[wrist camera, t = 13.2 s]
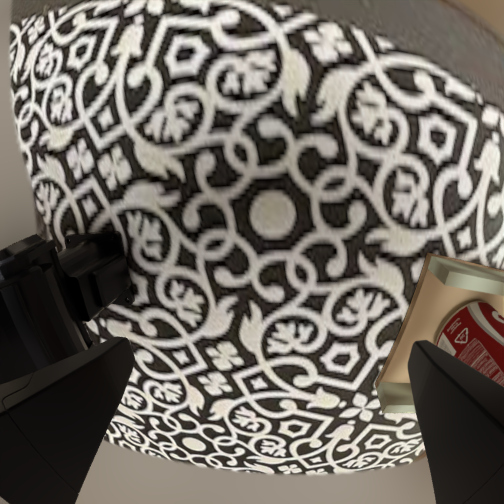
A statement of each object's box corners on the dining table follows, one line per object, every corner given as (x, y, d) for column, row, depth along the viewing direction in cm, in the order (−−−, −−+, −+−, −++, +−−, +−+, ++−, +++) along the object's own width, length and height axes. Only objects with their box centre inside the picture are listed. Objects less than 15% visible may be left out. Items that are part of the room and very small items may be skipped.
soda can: (424, 366, 21) (468, 472, 10) (441, 300, 19) (518, 404, 8) (480, 356, 20) (532, 442, 9) (499, 293, 18) (577, 373, 7)
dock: (374, 383, 23) (382, 412, 20) (427, 252, 19) (449, 271, 15) (473, 384, 22) (485, 406, 19) (525, 276, 18) (547, 292, 14)
